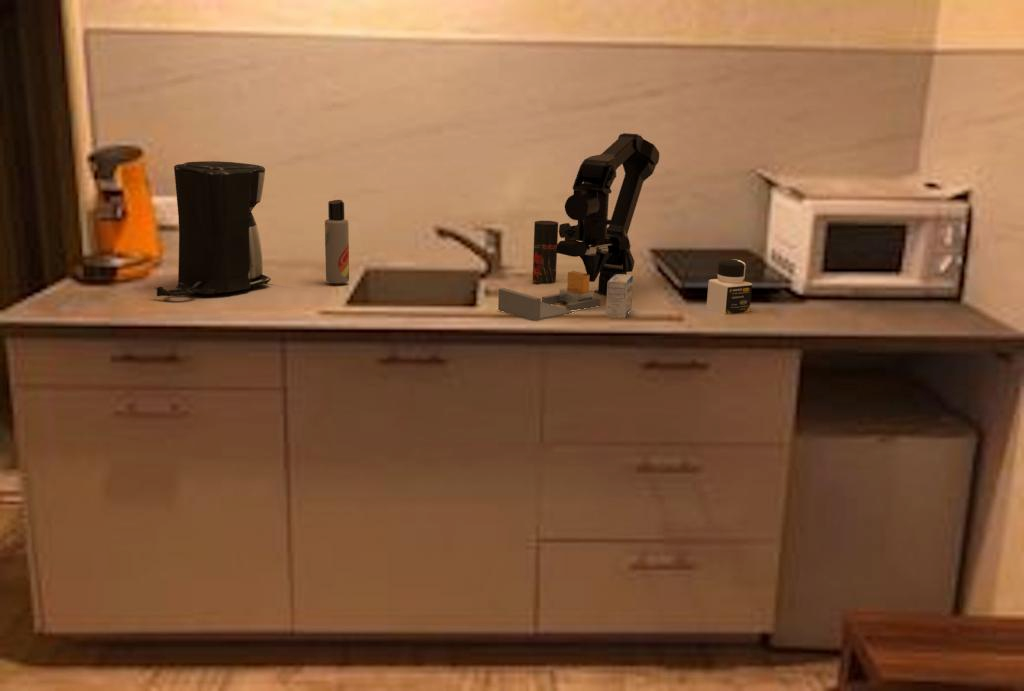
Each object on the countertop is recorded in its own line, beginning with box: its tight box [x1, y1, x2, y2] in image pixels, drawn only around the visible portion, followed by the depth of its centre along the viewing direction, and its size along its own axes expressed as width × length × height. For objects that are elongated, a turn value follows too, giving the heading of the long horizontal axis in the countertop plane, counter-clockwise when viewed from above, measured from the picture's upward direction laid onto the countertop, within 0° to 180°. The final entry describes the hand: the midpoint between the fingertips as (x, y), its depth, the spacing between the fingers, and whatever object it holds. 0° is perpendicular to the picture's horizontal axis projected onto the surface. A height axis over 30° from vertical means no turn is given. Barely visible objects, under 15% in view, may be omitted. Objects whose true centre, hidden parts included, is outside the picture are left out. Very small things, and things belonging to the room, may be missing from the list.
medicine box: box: [605, 274, 634, 319], centre depth 226 cm, size 8×4×9 cm, turn 164°
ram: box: [558, 270, 594, 303], centre depth 234 cm, size 5×6×6 cm
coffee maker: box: [154, 160, 272, 297], centre depth 238 cm, size 20×28×29 cm
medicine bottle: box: [706, 258, 753, 315], centre depth 232 cm, size 7×7×12 cm
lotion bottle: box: [324, 199, 350, 284], centre depth 249 cm, size 6×6×20 cm
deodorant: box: [532, 220, 559, 285], centre depth 257 cm, size 6×6×15 cm
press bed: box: [497, 287, 602, 322], centre depth 230 cm, size 22×12×5 cm, turn 131°
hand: (591, 281), depth 237 cm, fingers closed
